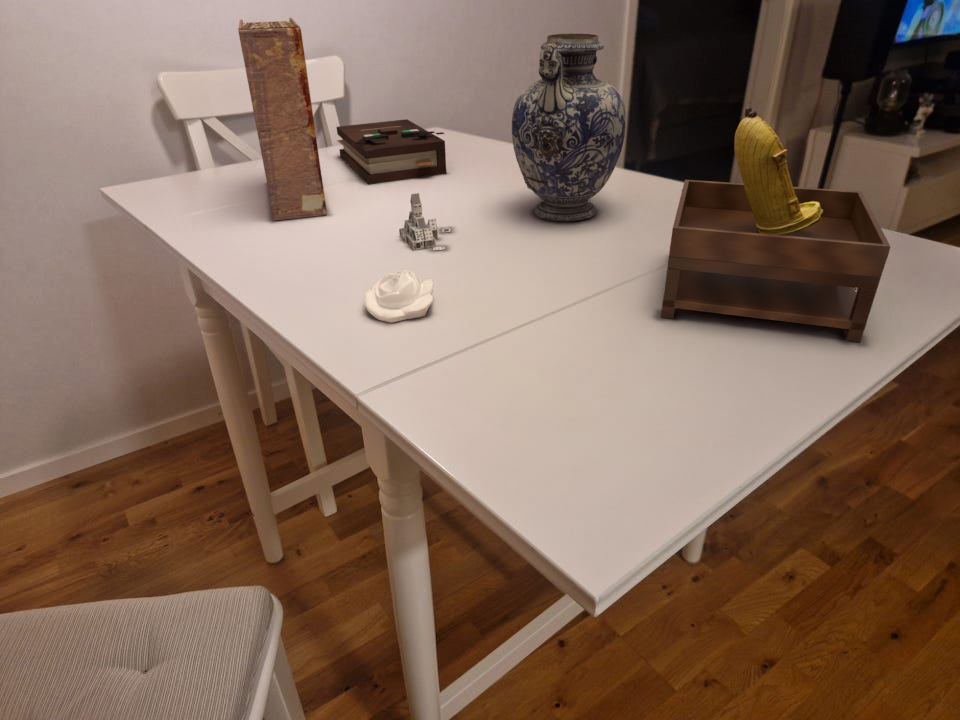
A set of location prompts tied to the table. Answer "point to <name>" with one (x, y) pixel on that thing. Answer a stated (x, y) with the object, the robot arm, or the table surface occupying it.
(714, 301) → the brown wooden open box
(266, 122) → the book
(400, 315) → the rose
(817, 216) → the shrine
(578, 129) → the decorative vase
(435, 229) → the house of cards
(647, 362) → the table surface
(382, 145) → the decorative book
